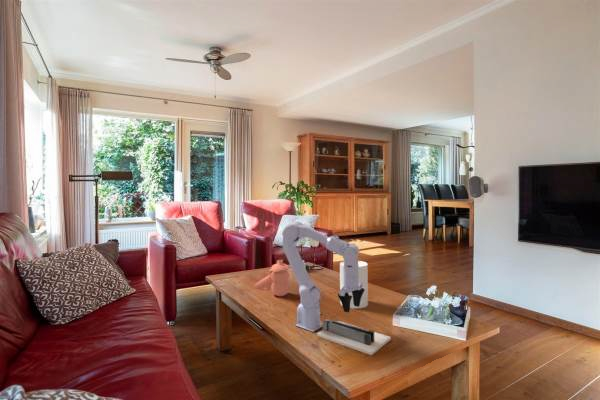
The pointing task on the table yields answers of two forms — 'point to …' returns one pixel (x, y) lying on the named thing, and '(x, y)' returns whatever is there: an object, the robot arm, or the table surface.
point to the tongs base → (346, 332)
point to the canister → (362, 278)
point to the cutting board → (375, 346)
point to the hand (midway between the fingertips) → (351, 308)
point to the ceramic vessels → (276, 280)
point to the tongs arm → (356, 329)
